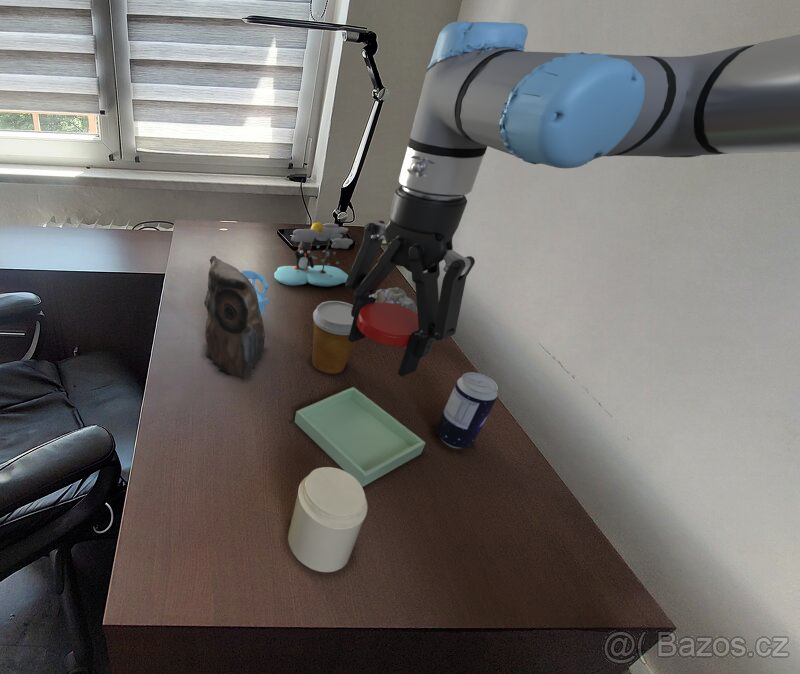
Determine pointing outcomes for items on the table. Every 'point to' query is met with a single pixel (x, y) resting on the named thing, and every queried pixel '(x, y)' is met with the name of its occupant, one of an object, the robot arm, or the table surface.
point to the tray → (359, 435)
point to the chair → (261, 297)
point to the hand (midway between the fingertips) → (380, 354)
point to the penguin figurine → (312, 273)
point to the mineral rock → (394, 298)
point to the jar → (327, 519)
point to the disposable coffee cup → (332, 336)
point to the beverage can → (467, 410)
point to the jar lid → (387, 323)
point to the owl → (232, 321)
